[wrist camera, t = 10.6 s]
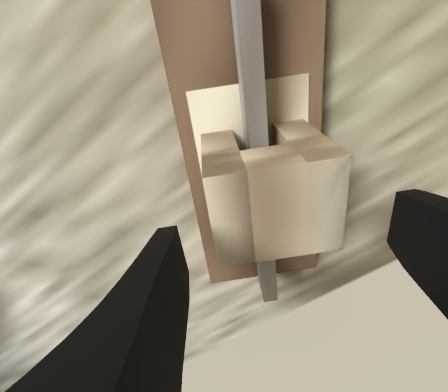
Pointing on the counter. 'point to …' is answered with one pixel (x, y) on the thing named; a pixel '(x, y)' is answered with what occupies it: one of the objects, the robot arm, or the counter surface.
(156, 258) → the robot arm
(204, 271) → the counter surface
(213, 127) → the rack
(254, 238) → the clip
